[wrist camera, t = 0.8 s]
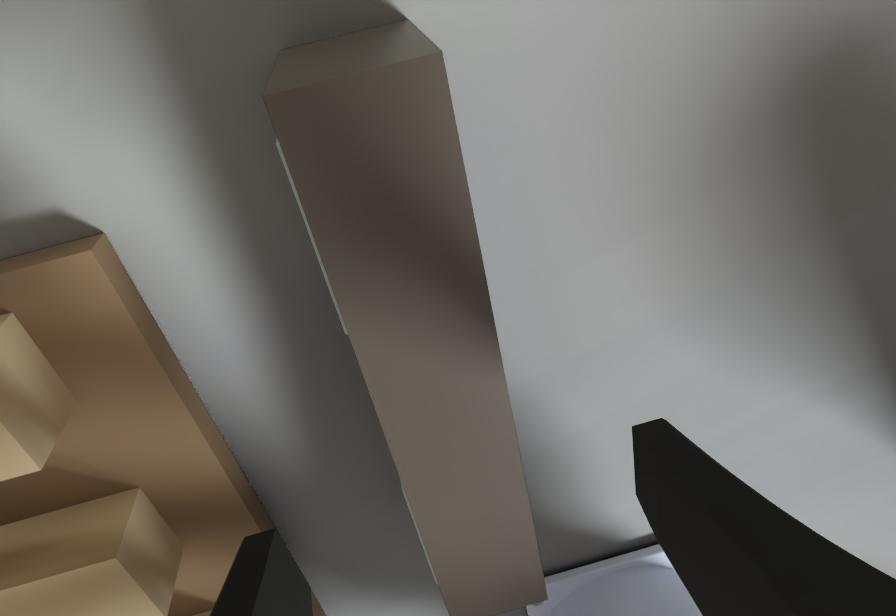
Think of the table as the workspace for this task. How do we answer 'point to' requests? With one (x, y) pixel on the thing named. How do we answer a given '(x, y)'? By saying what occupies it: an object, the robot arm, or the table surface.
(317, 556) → the table surface
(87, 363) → the display stand
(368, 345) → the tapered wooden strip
